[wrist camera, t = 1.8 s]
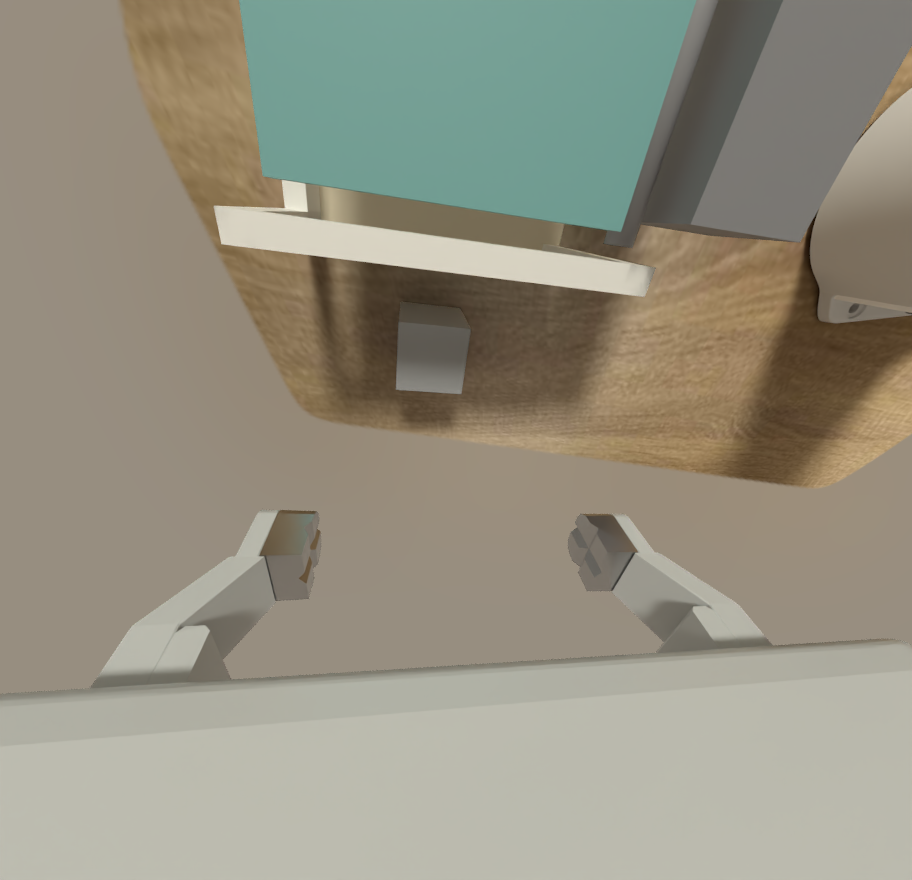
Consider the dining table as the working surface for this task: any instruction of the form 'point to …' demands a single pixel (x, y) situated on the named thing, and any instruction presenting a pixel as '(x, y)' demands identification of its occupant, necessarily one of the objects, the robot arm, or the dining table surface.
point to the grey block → (431, 348)
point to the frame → (424, 239)
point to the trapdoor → (576, 104)
